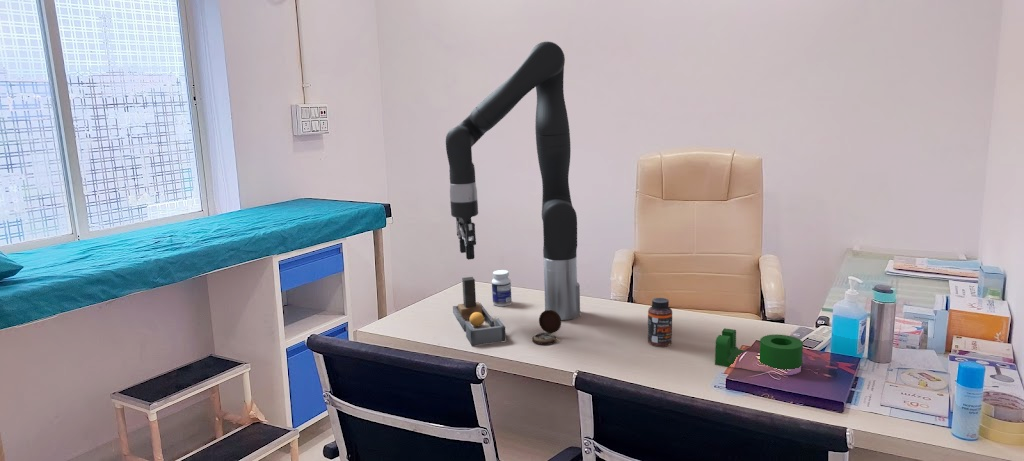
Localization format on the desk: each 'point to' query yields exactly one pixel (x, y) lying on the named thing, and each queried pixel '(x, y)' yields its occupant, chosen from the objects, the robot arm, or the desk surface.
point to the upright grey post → (469, 299)
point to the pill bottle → (501, 288)
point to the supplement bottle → (660, 323)
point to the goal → (486, 334)
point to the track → (462, 321)
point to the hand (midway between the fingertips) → (467, 255)
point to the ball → (476, 319)
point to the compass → (548, 327)
